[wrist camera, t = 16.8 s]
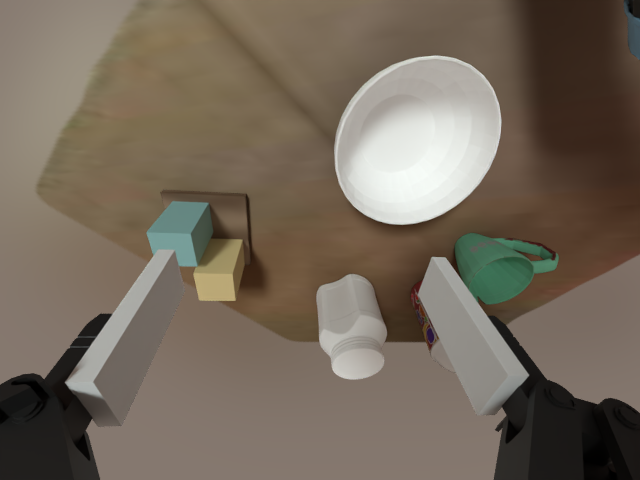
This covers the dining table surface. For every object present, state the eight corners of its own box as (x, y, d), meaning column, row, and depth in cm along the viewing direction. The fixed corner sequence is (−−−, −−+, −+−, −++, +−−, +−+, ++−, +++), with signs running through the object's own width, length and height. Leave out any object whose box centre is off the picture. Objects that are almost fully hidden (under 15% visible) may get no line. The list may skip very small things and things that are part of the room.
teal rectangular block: (172, 201, 42) (146, 232, 35) (208, 202, 42) (190, 233, 35) (179, 231, 45) (156, 265, 37) (213, 232, 45) (197, 266, 38)
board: (163, 189, 42) (160, 192, 41) (246, 193, 43) (245, 196, 42) (180, 259, 49) (178, 263, 48) (250, 261, 50) (250, 264, 49)
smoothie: (396, 299, 58) (436, 399, 41) (418, 269, 54) (471, 367, 37) (431, 307, 60) (482, 405, 43) (454, 278, 56) (520, 376, 39)
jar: (329, 319, 60) (337, 389, 48) (308, 290, 55) (311, 360, 42) (380, 299, 58) (402, 368, 45) (363, 268, 53) (383, 335, 40)
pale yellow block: (209, 238, 46) (193, 273, 39) (242, 239, 46) (232, 274, 39) (213, 263, 49) (199, 300, 41) (244, 264, 49) (235, 300, 42)
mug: (441, 270, 54) (467, 310, 46) (439, 229, 49) (468, 265, 41) (520, 251, 53) (561, 289, 45) (527, 206, 47) (576, 239, 39)
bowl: (443, 196, 45) (470, 224, 38) (326, 197, 44) (331, 226, 37) (483, 55, 35) (531, 57, 28) (330, 52, 34) (339, 53, 26)
